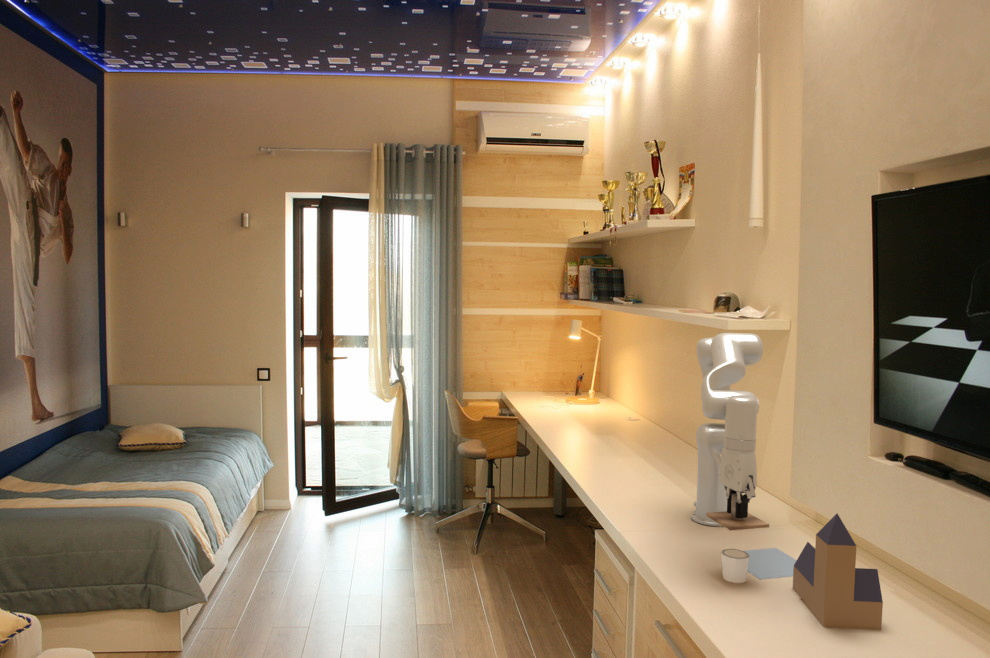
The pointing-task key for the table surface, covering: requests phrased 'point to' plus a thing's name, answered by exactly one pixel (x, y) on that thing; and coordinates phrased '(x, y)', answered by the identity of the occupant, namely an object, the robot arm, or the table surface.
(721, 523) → the lid
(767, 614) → the table surface
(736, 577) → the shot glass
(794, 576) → the toy building blocks
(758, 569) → the mat
